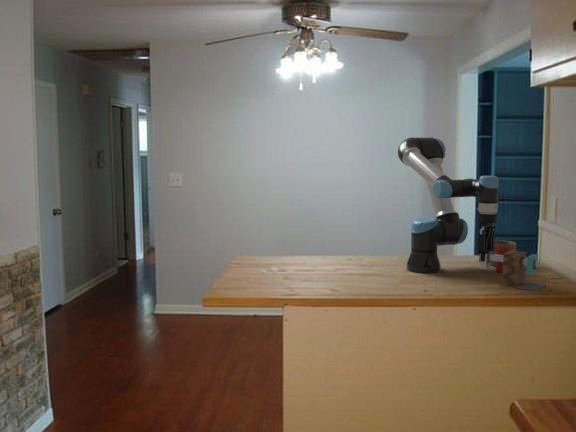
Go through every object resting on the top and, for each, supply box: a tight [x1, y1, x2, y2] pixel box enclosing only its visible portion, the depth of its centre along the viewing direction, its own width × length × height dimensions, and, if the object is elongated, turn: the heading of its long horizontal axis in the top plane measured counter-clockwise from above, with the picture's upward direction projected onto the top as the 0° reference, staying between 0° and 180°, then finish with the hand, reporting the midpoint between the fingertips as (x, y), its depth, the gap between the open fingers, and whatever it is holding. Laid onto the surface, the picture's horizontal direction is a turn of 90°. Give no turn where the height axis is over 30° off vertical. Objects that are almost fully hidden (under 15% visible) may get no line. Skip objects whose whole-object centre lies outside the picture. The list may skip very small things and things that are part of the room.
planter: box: [491, 239, 517, 267], centre depth 277 cm, size 12×12×11 cm
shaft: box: [478, 250, 540, 267], centre depth 242 cm, size 23×4×5 cm, turn 50°
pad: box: [516, 280, 547, 292], centre depth 238 cm, size 8×12×1 cm, turn 140°
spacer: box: [525, 253, 539, 276], centre depth 236 cm, size 2×7×7 cm, turn 140°
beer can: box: [495, 244, 512, 274], centre depth 263 cm, size 7×7×12 cm
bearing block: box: [501, 250, 527, 288], centre depth 241 cm, size 6×9×13 cm, turn 140°
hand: (485, 267), depth 249 cm, fingers closed on shaft, 4 cm apart
